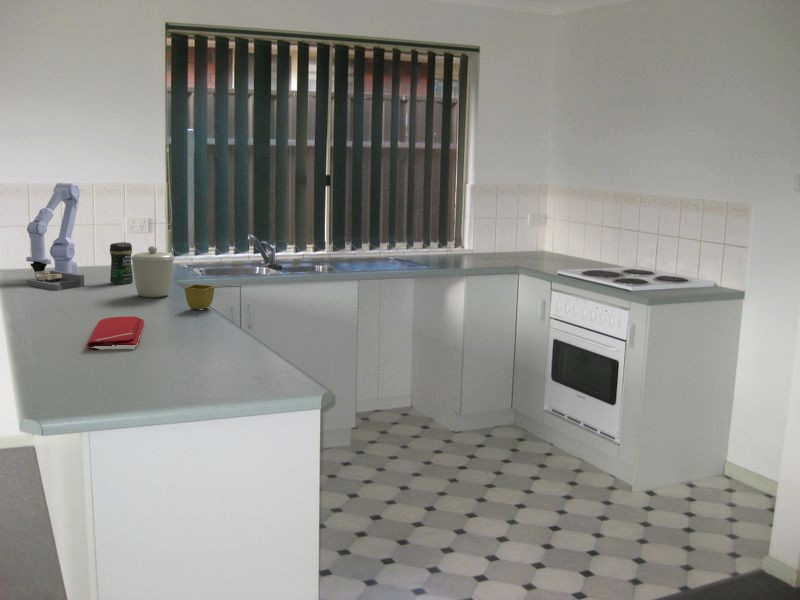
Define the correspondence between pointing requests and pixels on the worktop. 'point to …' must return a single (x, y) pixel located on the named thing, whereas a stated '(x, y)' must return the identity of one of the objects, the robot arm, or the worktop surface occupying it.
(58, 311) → the worktop surface
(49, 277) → the footed beige box
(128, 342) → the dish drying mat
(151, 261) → the canister
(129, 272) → the coffee jar
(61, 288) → the loading dock
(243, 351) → the worktop surface
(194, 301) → the flower pot
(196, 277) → the worktop surface
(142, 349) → the worktop surface
